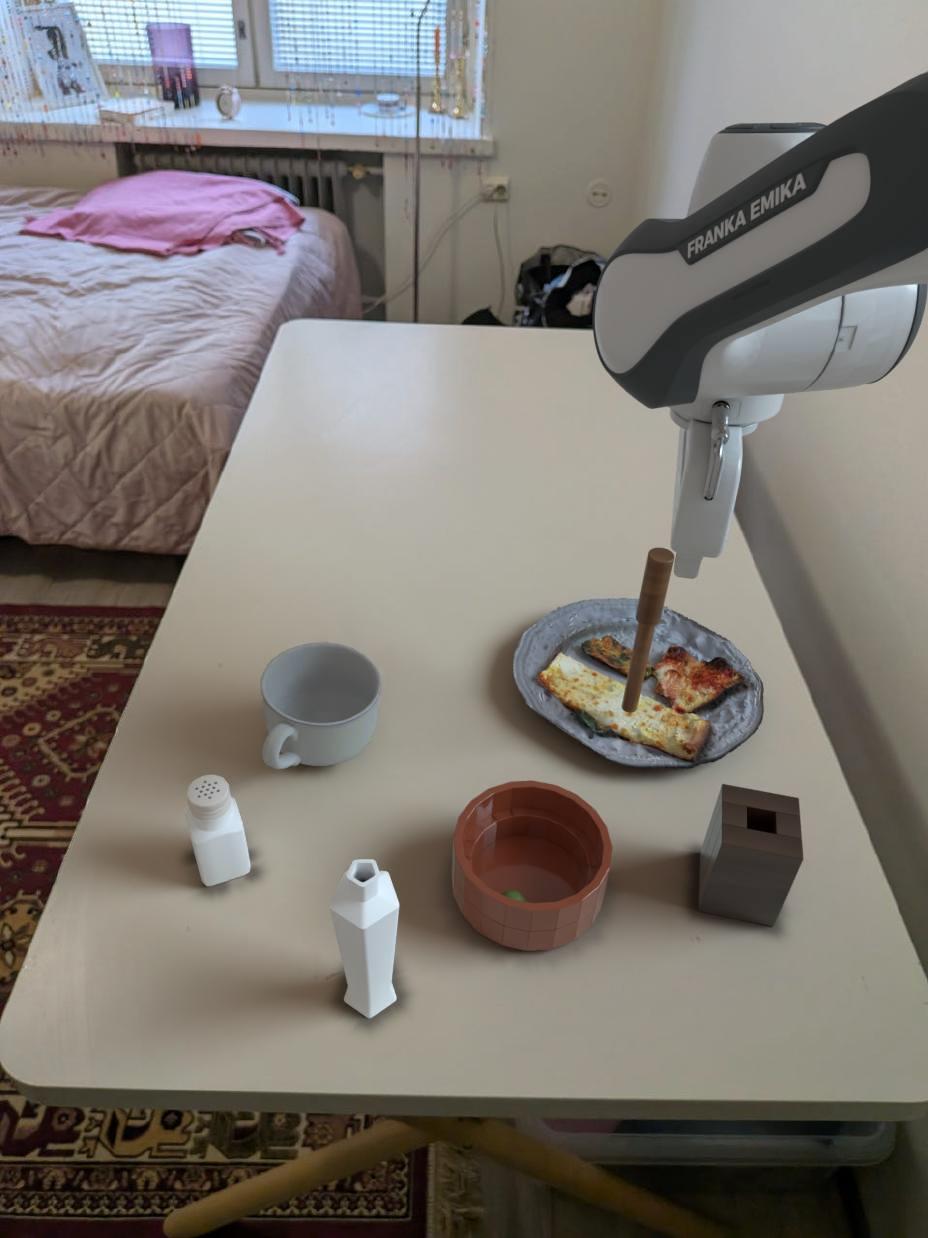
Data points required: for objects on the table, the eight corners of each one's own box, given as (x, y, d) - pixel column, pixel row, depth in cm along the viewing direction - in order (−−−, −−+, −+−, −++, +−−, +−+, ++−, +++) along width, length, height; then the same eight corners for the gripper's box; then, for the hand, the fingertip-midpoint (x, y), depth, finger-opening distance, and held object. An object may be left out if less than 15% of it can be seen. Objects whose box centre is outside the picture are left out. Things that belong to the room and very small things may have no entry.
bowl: (593, 970, 71) (603, 926, 67) (436, 935, 73) (437, 891, 69) (609, 841, 80) (618, 796, 77) (469, 813, 82) (472, 768, 78)
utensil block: (773, 927, 74) (803, 859, 69) (698, 911, 75) (721, 843, 70) (771, 866, 79) (799, 797, 73) (700, 852, 80) (722, 783, 74)
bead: (513, 915, 71) (510, 933, 72) (534, 897, 72) (531, 916, 74) (490, 895, 72) (488, 914, 74) (511, 878, 74) (509, 897, 75)
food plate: (799, 692, 96) (808, 667, 94) (679, 823, 82) (686, 797, 80) (602, 588, 108) (606, 564, 106) (469, 687, 95) (471, 661, 92)
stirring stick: (639, 717, 88) (674, 564, 76) (616, 713, 88) (647, 559, 77) (641, 701, 89) (675, 549, 78) (618, 697, 90) (649, 545, 78)
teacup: (322, 685, 94) (317, 625, 89) (405, 733, 89) (405, 672, 84) (219, 767, 85) (206, 706, 80) (305, 825, 81) (298, 763, 75)
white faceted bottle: (331, 974, 70) (318, 853, 60) (387, 957, 71) (383, 836, 62) (346, 1030, 67) (335, 912, 57) (405, 1011, 68) (403, 892, 58)
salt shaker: (194, 853, 78) (176, 778, 72) (241, 838, 79) (227, 764, 73) (204, 891, 75) (186, 817, 69) (253, 875, 76) (239, 800, 70)
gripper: (774, 449, 57) (727, 625, 65) (763, 328, 72) (727, 482, 81) (670, 436, 58) (637, 610, 66) (682, 319, 73) (654, 472, 82)
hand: (687, 539), depth 74 cm, fingers open, 8 cm apart
